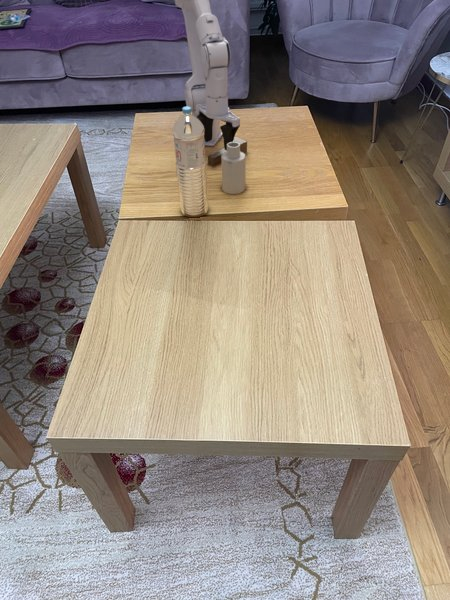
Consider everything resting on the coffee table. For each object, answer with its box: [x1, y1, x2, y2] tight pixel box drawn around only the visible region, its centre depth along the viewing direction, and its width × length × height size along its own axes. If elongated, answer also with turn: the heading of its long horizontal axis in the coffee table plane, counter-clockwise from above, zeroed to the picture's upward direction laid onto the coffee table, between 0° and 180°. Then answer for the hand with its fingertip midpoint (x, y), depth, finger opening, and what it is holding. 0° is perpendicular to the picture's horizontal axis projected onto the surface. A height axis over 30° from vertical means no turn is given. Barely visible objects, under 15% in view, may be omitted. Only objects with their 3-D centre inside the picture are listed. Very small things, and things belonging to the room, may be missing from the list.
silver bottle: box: [220, 142, 247, 195], centre depth 114 cm, size 6×6×12 cm
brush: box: [207, 136, 248, 168], centre depth 129 cm, size 6×12×4 cm, turn 137°
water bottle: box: [172, 105, 209, 218], centre depth 102 cm, size 7×7×25 cm
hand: (218, 144), depth 125 cm, fingers open, 7 cm apart
